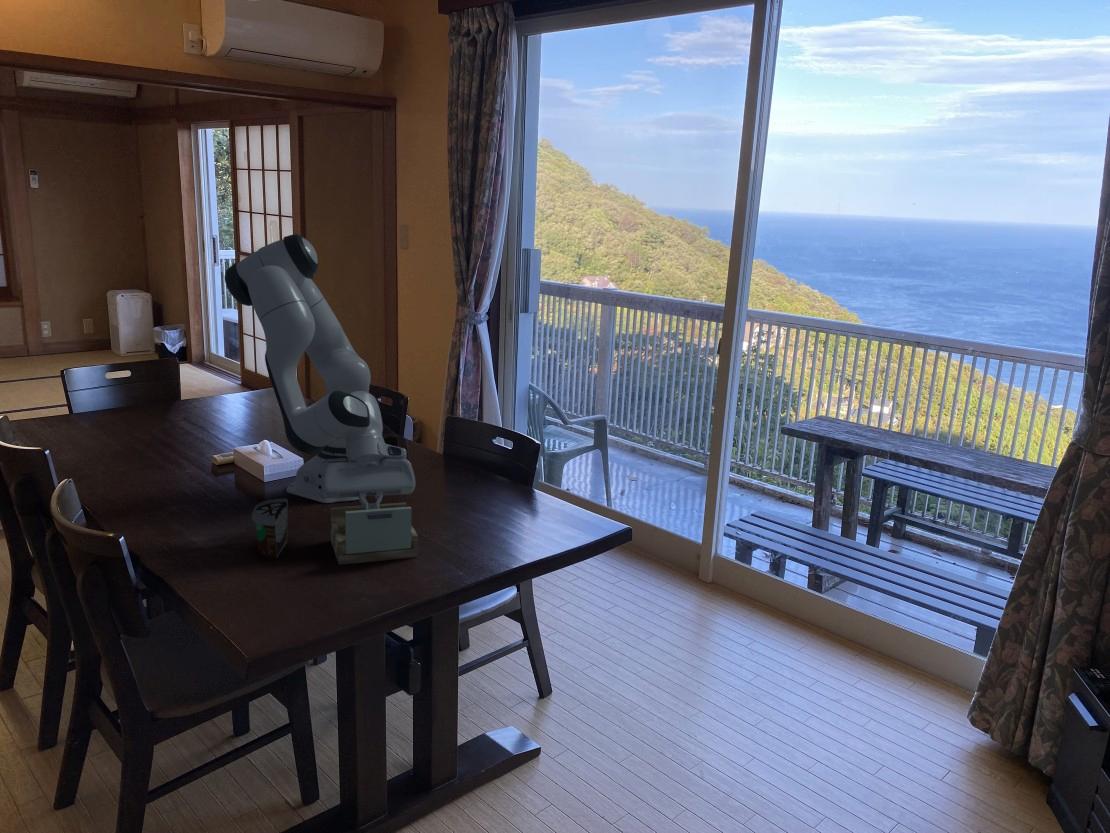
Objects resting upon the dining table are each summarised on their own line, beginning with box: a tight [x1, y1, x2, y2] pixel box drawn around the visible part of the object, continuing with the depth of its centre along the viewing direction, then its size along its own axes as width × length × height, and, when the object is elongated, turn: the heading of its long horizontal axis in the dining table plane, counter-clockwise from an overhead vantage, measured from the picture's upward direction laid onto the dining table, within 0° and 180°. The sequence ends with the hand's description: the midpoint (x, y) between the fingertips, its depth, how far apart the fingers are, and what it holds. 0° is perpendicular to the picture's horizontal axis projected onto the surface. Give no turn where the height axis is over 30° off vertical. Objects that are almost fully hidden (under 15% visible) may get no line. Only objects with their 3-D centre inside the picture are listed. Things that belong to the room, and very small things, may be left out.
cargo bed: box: [330, 501, 419, 566], centre depth 180 cm, size 14×17×8 cm
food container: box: [251, 498, 289, 559], centre depth 176 cm, size 12×6×10 cm, turn 5°
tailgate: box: [345, 506, 413, 554], centre depth 173 cm, size 2×14×9 cm, turn 112°
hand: (372, 512), depth 176 cm, fingers closed
